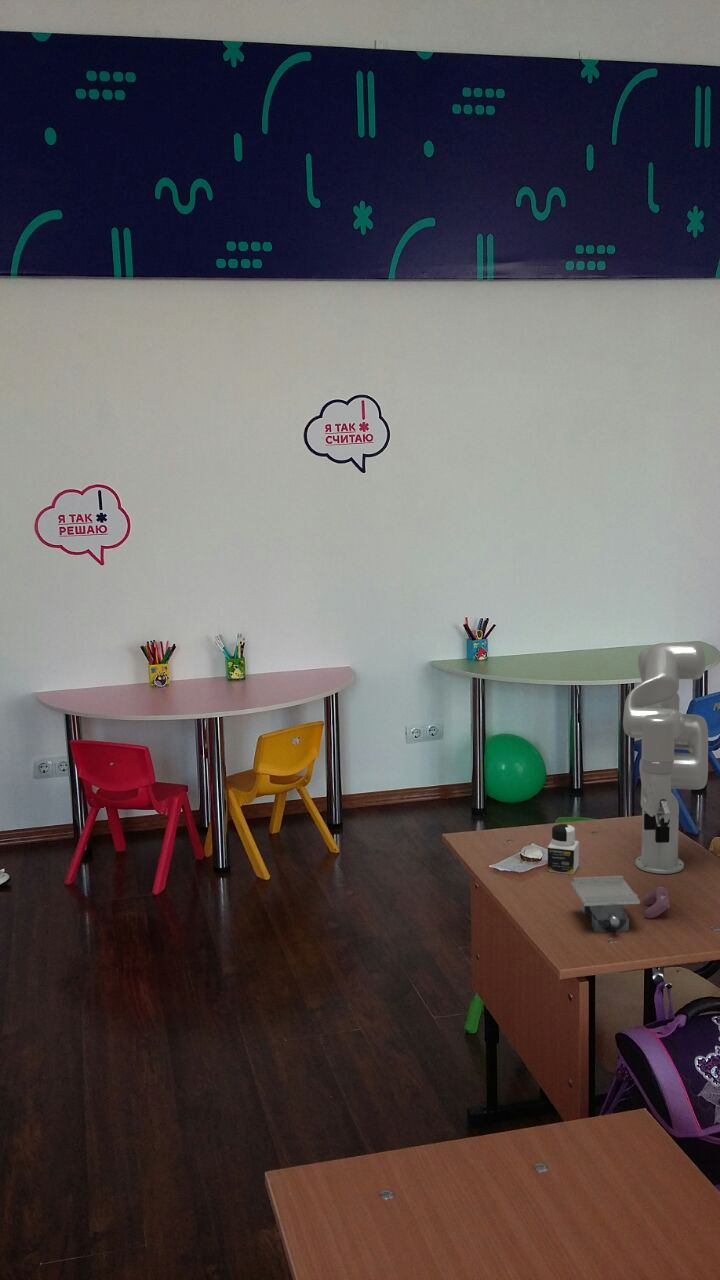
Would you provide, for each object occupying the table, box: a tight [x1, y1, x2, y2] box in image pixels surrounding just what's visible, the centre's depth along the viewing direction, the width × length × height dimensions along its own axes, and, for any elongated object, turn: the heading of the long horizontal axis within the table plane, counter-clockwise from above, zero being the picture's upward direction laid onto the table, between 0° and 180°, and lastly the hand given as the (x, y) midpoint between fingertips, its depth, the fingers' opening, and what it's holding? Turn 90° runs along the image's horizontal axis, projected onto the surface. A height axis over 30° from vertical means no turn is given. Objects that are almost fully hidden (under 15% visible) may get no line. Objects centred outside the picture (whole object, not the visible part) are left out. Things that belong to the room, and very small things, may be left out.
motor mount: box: [570, 875, 641, 933], centre depth 263 cm, size 16×13×9 cm
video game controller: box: [642, 886, 670, 919], centre depth 269 cm, size 10×5×7 cm, turn 169°
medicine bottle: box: [547, 823, 580, 875], centre depth 299 cm, size 7×7×12 cm
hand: (656, 835), depth 267 cm, fingers open, 9 cm apart
